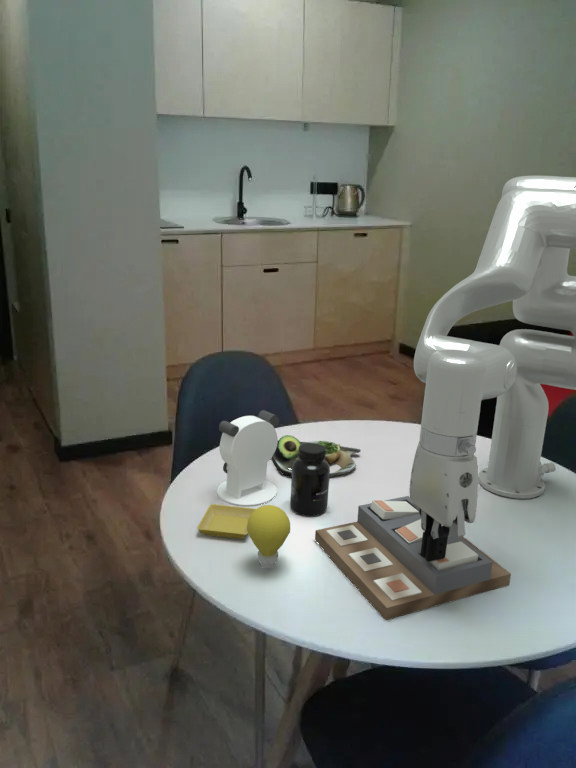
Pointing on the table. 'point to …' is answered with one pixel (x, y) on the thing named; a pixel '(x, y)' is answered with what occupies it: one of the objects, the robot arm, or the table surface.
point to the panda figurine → (248, 459)
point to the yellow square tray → (225, 521)
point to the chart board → (391, 572)
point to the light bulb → (268, 533)
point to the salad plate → (334, 454)
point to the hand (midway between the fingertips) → (432, 556)
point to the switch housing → (411, 553)
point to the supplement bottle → (310, 480)
